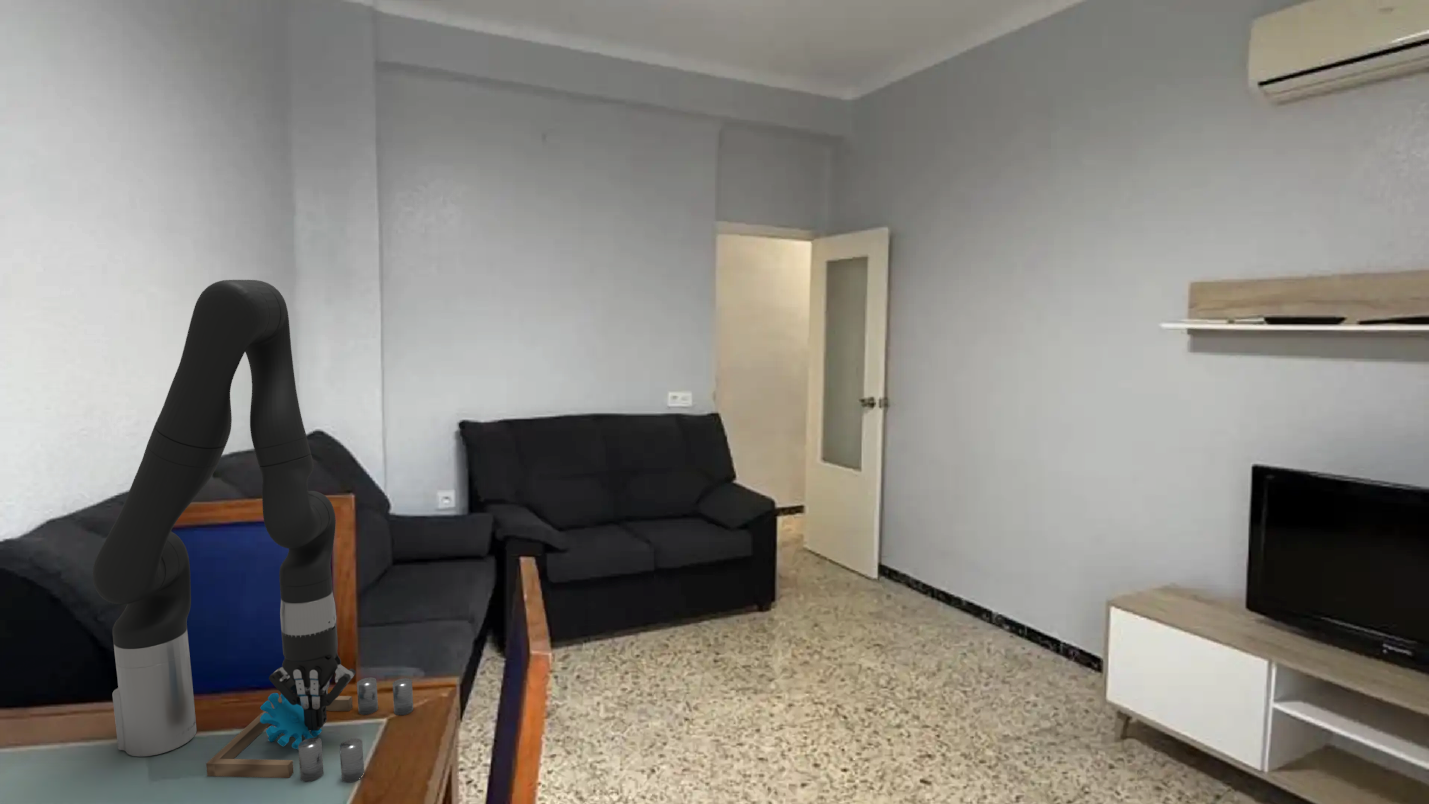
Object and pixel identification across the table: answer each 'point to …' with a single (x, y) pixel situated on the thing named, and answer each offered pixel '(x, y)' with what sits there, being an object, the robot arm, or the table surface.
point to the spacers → (353, 747)
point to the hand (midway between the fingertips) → (316, 727)
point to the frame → (233, 767)
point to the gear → (285, 721)
